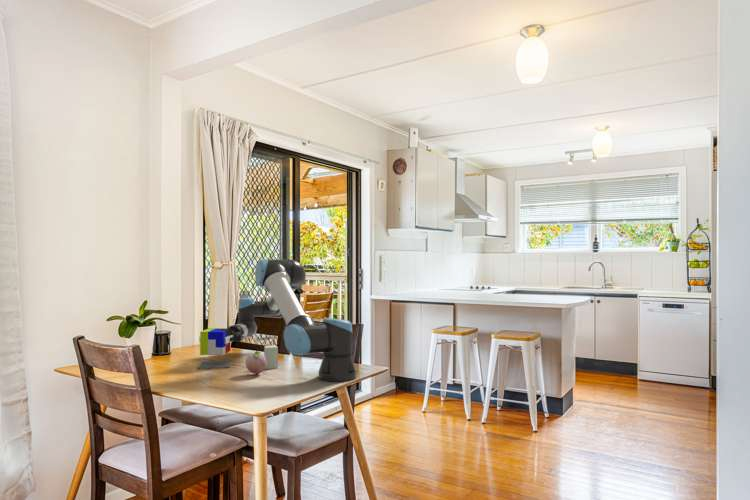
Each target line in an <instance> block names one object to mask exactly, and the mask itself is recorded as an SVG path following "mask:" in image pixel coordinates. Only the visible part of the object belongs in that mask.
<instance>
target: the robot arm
mask: <svg viewBox="0 0 750 500" xmlns="http://www.w3.org/2000/svg"><path fill="white" fill-rule="evenodd" d="M254 272H255V274H254V276H255V277H254V279H255V284H256V286H258V287H264V290H265V291H266V292H267V293H269V294H271V295H270V297H268V299H266V300H262V301H261V300H259V301H258V300H256V301H255V298H253V297H242V298H239V300H238V307H237V308H238V309H237V310H238V312H237V313H238V319H237V324H233V325H231V326H228V327H227V329H230V336H228V337H225V344H227V343H230V344H231V343H233V342H237V341H238V342H241V341H242V340H244V339H245V338H250V337H252V336H253V335H255V334H256V333H257V330H258V326H257V324H256V322H255V317H267V316H268V317H269V316H271V317H272V316H274V317H275V316H280V315H281V317H282V318H283V320H284V322H285V324H286V326H285V327H284V328H285V329H284V330H283V340H284V342H283V343H284V345H285V348H286V351H288V353H290V354H291V355H293V356H307V355H313V354H314V355H315V354H321V353H322V359H321V362H320V363H321V364H320V366H319V369H318V376H317V377H318V379H320V380H321V381H325V382H326V381H327V382H346V381H352V380H355V379H356V378H357V369H356V366H355V363H354V360H353V333H354V332H353V324H352V323H353V322H351V321H350V320H346V319H341V318H340V319H339V318H331V317H324V318H323V320H322V322H315V320H314V318H313V317H312V316H311V315H309V314H307V313H306V312H305V310H304V308H303V306H302V305H301V303H300V300H299V299H298V297H297V295H296V294H295V291H296V290H298V289H300V288H301V287H302V286H303V284H304V283H305V281H306V277H307V275H306V269H305V267H304V266H303V264H302V263H300V262H299V261H297V260H295V259H291V258H289V259H280V258H279V259H275V258H274V259H272V258H271V259H269V258H267V259H260V260H259V261H258V262H257V264H256V266H255V271H254ZM199 343H200V335H199Z"/></svg>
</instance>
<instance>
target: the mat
mask: <svg viewBox="0 0 750 500" xmlns="http://www.w3.org/2000/svg"><path fill="white" fill-rule="evenodd" d="M232 363H233V360H207V361H206V360H205V361H204V360H202V361H201V362H200V364H199V365H198V367H197V369H198V370H208V369H230V367H231V365H232Z"/></svg>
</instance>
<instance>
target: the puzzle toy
mask: <svg viewBox="0 0 750 500" xmlns="http://www.w3.org/2000/svg"><path fill="white" fill-rule="evenodd" d="M199 336H200V342H199V347H200V348H199V356H225V355H226V354H228V353H229V352H230V351H231V342H230V343H227V344H225V337H228V336H230V329H228V328H206V329H204V330H201V331H200V332H199Z"/></svg>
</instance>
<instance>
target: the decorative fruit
mask: <svg viewBox="0 0 750 500" xmlns="http://www.w3.org/2000/svg"><path fill="white" fill-rule="evenodd" d="M266 363H267V361H266V358H265V356H264V353H261V352H260V351H258V349H257V350H256V351H254V352H253V353H250V354H249V355H247V357H246V359H245V366H246V369H247V370H248V371H249V372H250V373H252V374H255V375H256V376H257V375H260V374H261V373H263V371H264V370H266V368H265V367H266Z"/></svg>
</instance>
